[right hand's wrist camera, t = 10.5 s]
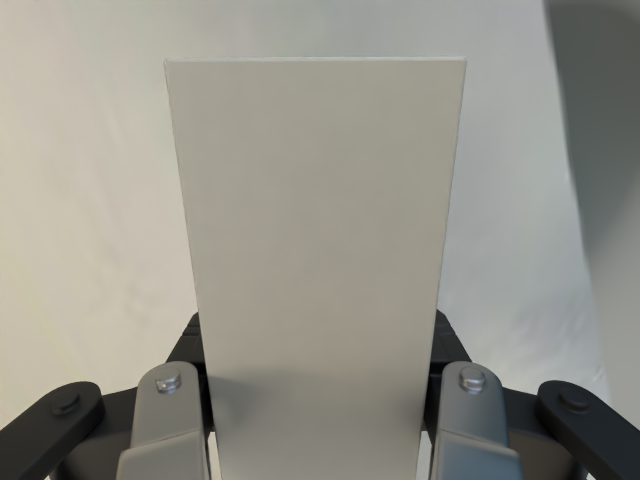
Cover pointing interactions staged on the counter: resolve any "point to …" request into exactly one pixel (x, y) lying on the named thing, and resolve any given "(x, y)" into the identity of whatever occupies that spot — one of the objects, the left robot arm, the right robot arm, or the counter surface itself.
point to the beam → (316, 252)
